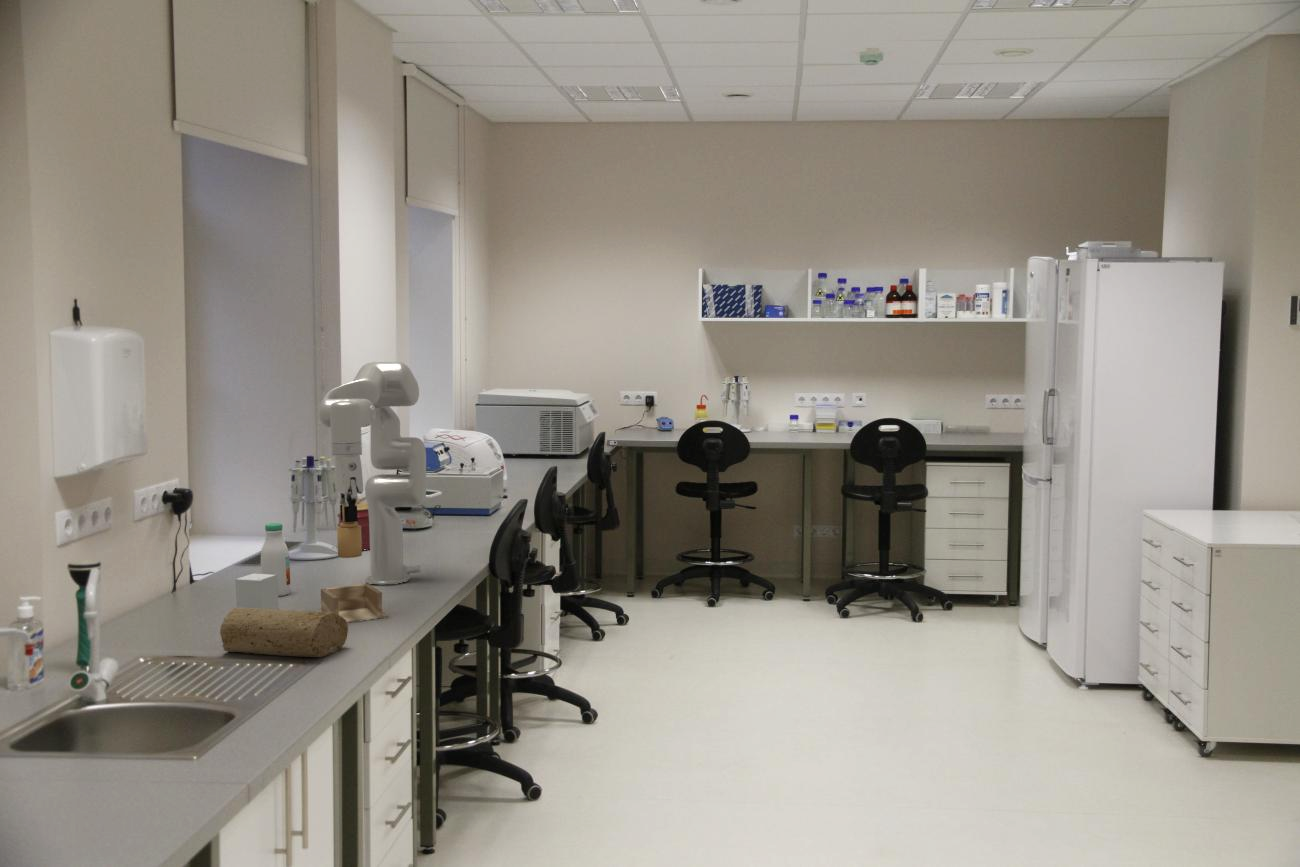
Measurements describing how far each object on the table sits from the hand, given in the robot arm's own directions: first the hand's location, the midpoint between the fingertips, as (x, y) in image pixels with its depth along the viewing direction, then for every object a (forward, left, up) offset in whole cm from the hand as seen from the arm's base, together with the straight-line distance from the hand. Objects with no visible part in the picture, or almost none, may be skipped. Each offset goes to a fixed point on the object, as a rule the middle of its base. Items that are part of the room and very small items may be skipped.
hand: (349, 520), depth 304 cm
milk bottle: (+11, -37, -25) cm, 46 cm away
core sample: (+23, +25, -26) cm, 43 cm away
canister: (-29, -96, -25) cm, 104 cm away
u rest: (0, 0, -25) cm, 25 cm away
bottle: (0, 0, -9) cm, 9 cm away
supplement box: (+23, -2, -25) cm, 34 cm away
